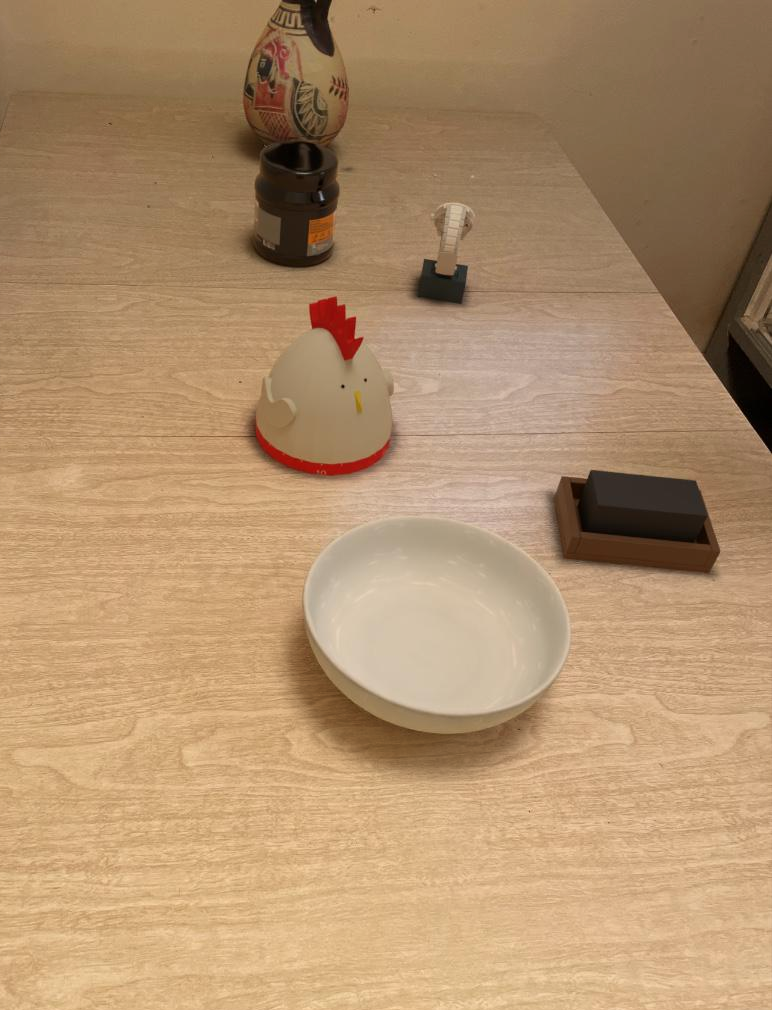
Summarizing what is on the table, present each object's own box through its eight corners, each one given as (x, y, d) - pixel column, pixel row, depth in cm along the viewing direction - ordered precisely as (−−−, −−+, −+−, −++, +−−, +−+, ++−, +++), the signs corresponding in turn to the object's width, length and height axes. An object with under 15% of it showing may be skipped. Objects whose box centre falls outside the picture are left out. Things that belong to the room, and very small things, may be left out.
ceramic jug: (219, 149, 144) (221, -92, 122) (288, 124, 152) (300, -106, 131) (305, 188, 137) (323, -59, 115) (371, 160, 146) (400, -76, 124)
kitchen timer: (297, 492, 92) (308, 357, 81) (231, 413, 100) (234, 280, 89) (415, 453, 98) (441, 322, 87) (345, 381, 105) (360, 252, 94)
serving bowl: (493, 815, 70) (515, 762, 65) (248, 690, 76) (251, 632, 71) (584, 633, 83) (608, 577, 78) (369, 538, 89) (378, 481, 84)
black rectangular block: (679, 515, 93) (696, 480, 90) (689, 551, 90) (708, 515, 86) (577, 505, 93) (590, 469, 89) (583, 541, 89) (598, 504, 86)
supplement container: (350, 253, 125) (360, 160, 116) (293, 279, 119) (300, 183, 111) (292, 223, 130) (298, 131, 121) (235, 246, 124) (237, 151, 115)
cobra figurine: (464, 281, 123) (481, 196, 115) (460, 313, 117) (478, 226, 109) (420, 274, 123) (435, 189, 115) (414, 305, 118) (429, 218, 110)
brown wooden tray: (689, 513, 95) (700, 489, 93) (708, 574, 89) (721, 551, 87) (553, 499, 95) (561, 475, 92) (563, 560, 89) (572, 536, 87)
